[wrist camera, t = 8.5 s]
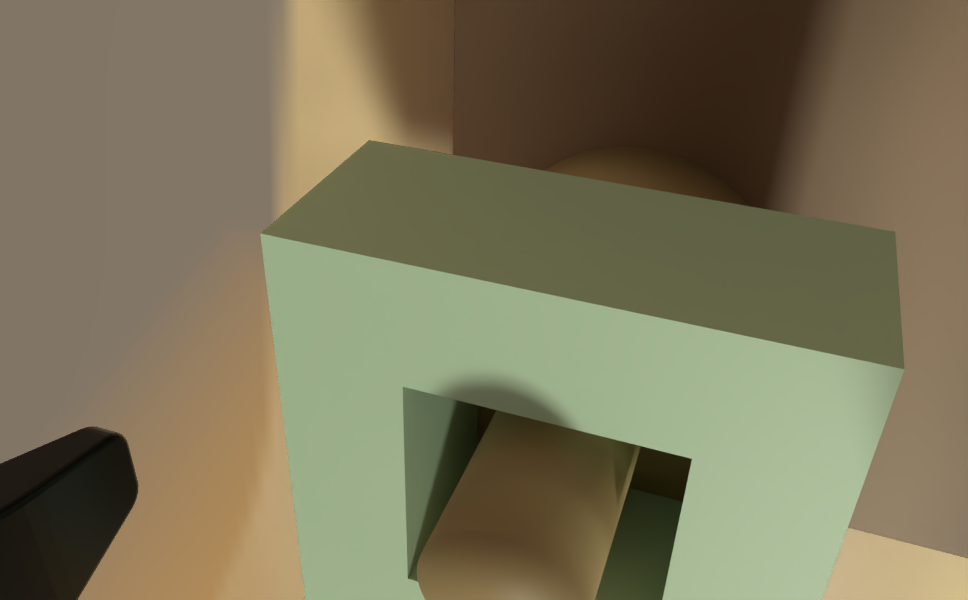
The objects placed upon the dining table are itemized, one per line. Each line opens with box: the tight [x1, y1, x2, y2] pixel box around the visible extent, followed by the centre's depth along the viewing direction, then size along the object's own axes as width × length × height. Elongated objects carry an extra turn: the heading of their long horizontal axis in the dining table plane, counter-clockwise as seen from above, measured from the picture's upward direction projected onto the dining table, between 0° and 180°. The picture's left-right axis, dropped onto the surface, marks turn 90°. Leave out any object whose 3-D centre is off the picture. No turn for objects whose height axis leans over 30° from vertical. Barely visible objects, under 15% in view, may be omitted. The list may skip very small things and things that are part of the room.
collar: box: [260, 140, 905, 600], centre depth 11 cm, size 6×6×2 cm
